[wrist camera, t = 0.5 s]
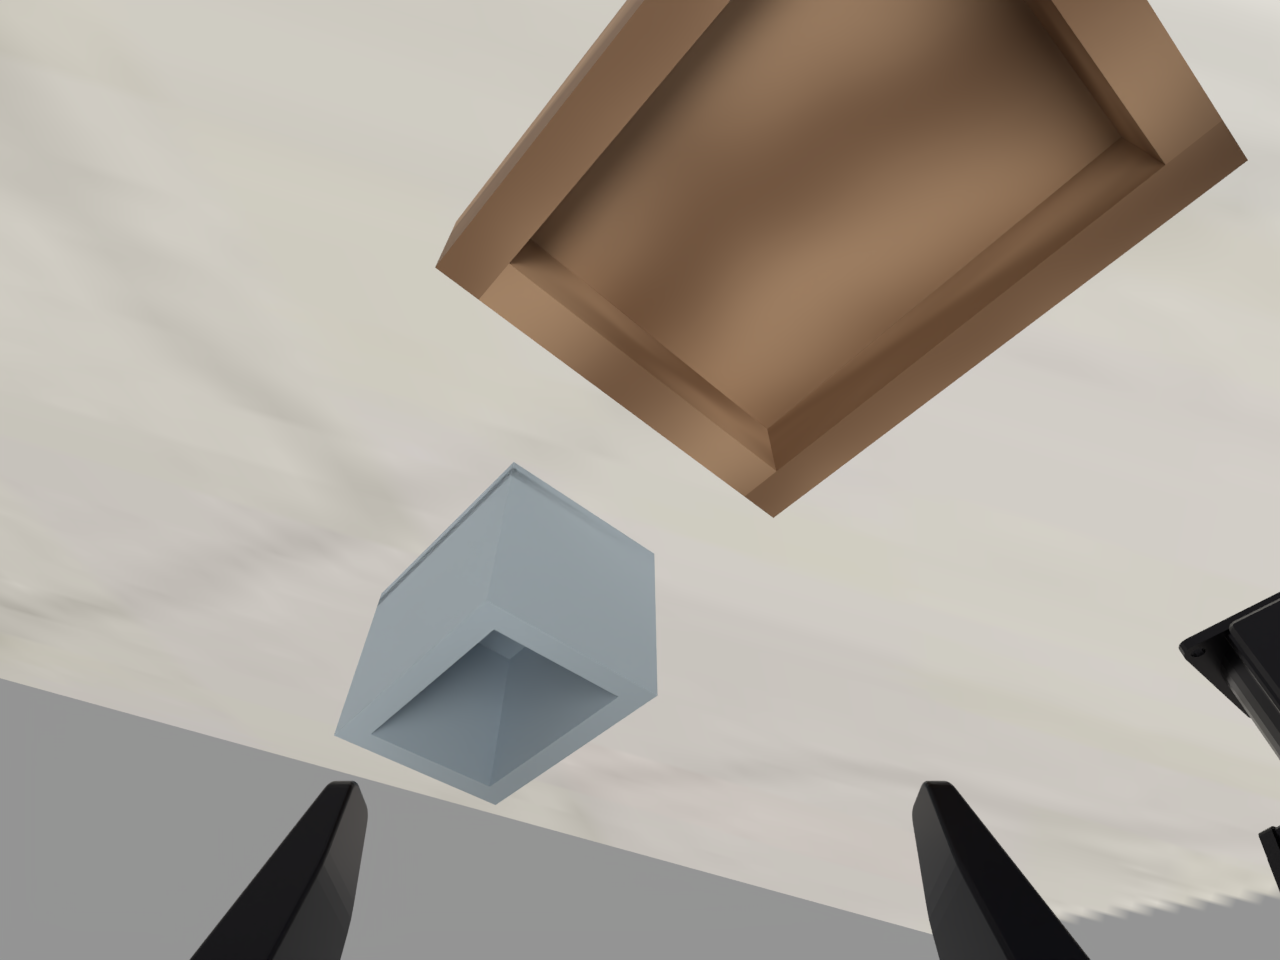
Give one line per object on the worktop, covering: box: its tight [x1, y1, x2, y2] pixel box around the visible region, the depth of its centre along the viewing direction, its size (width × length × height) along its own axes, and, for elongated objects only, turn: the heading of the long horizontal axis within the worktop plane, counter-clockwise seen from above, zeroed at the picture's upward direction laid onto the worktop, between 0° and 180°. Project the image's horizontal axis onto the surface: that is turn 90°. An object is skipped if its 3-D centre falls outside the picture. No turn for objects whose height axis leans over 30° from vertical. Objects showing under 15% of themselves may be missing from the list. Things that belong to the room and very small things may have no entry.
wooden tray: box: [435, 0, 1248, 518], centre depth 19 cm, size 11×13×3 cm
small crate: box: [334, 462, 658, 805], centre depth 26 cm, size 6×8×6 cm
